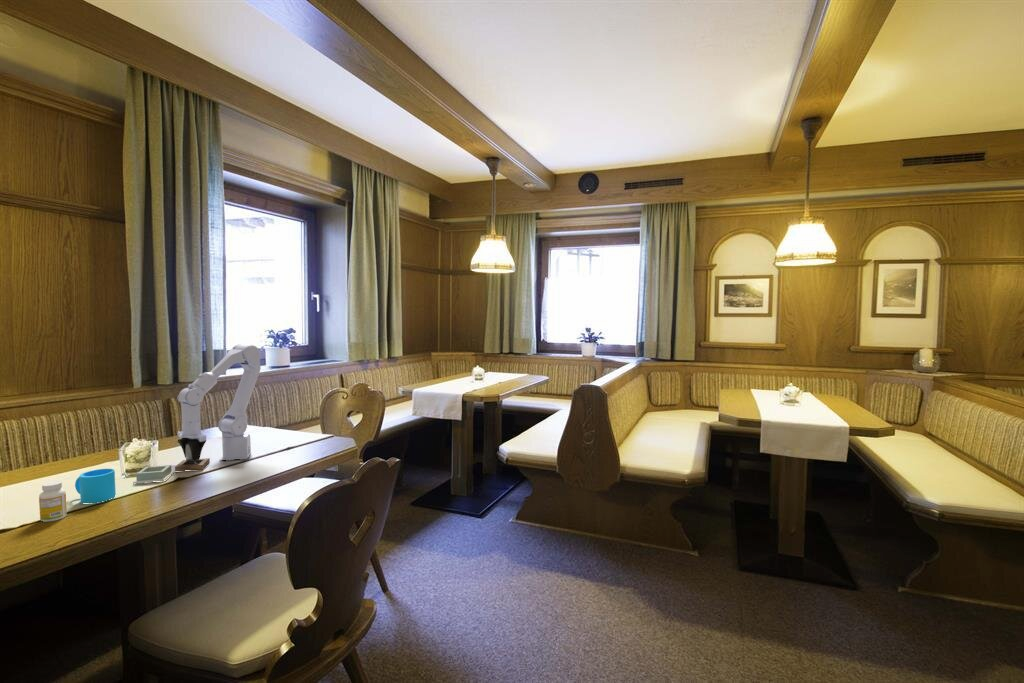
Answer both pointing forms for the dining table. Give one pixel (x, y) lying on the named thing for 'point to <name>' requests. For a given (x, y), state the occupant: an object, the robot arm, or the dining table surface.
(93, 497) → the mug
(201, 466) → the socket
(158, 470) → the grey square tray
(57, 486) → the supplement bottle
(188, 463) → the peg
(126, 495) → the dining table surface
